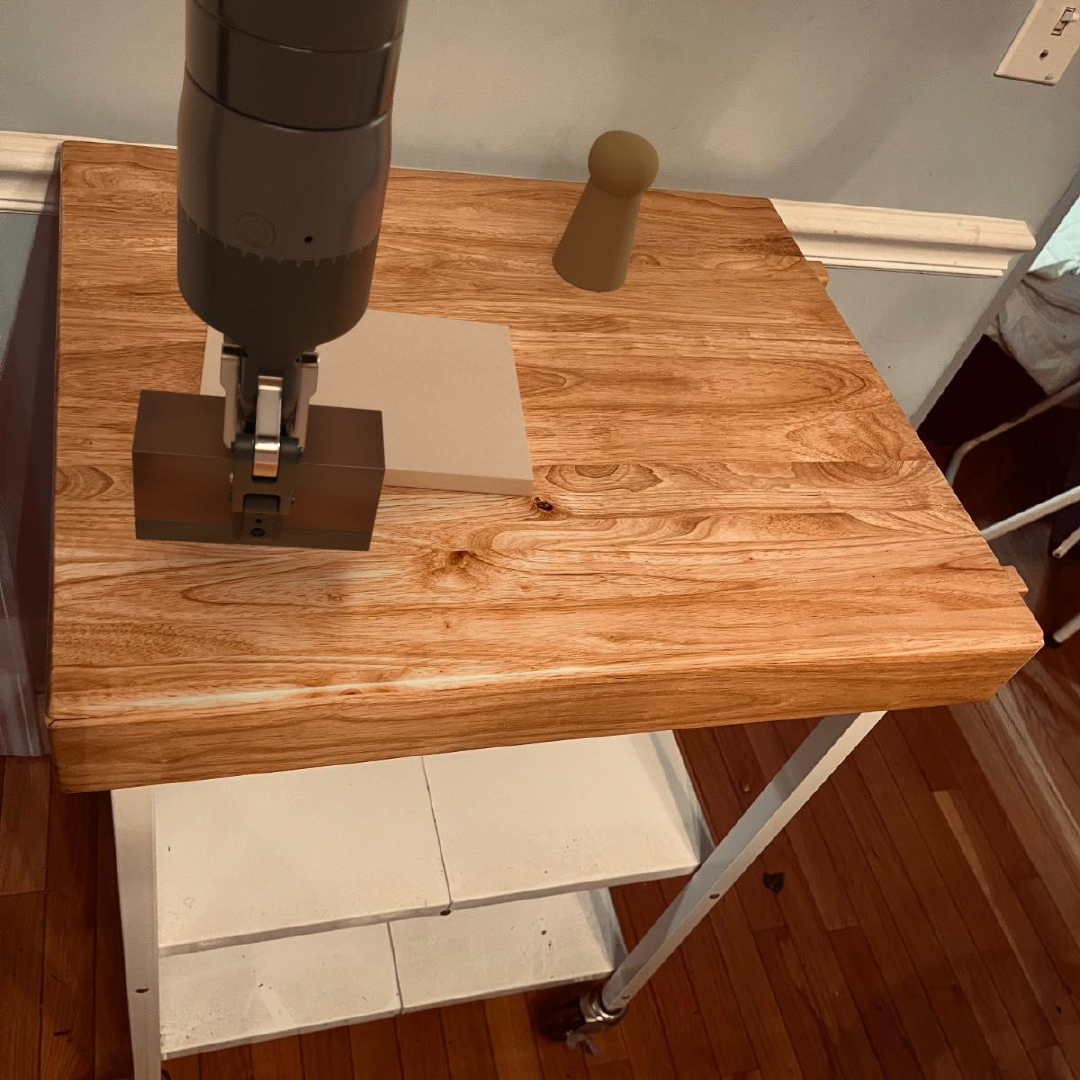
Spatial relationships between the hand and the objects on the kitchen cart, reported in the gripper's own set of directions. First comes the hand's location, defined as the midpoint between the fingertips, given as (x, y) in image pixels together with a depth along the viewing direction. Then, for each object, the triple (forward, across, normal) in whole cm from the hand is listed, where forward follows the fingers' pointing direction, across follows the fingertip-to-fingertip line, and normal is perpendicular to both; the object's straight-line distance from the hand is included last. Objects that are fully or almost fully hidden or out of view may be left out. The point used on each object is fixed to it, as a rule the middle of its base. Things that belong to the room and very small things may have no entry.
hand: (258, 497), depth 52 cm
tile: (+7, +15, -7) cm, 18 cm away
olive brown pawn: (+7, +33, -25) cm, 42 cm away
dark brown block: (+1, 0, 0) cm, 1 cm away
